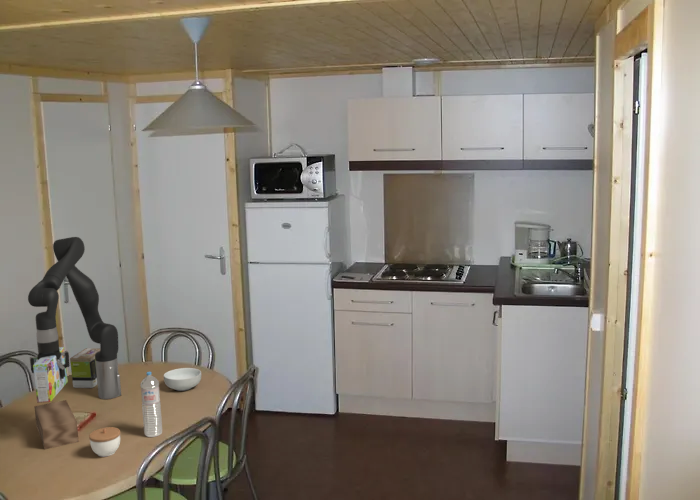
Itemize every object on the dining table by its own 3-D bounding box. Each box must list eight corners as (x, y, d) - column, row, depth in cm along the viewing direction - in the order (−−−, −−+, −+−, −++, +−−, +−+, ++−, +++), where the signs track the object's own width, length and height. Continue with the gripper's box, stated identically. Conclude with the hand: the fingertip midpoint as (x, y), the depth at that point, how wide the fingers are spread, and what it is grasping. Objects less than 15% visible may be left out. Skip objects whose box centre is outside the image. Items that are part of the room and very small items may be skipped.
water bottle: (166, 431, 271) (161, 370, 267) (155, 438, 265) (151, 376, 261) (151, 429, 273) (146, 368, 269) (140, 436, 267) (135, 374, 263)
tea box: (88, 376, 336) (85, 347, 334) (108, 377, 335) (105, 347, 332) (72, 388, 321) (69, 357, 319) (92, 388, 320) (89, 357, 317)
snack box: (53, 383, 279) (50, 347, 277) (68, 382, 280) (65, 346, 277) (35, 403, 258) (32, 364, 256) (51, 402, 259) (48, 363, 257)
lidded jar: (91, 462, 247) (89, 437, 245) (89, 450, 256) (87, 426, 255) (123, 456, 251) (121, 431, 249) (120, 444, 260) (118, 420, 259)
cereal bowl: (209, 385, 320) (208, 370, 319) (183, 397, 307) (182, 381, 305) (183, 379, 329) (182, 365, 328) (156, 390, 316) (155, 375, 314)
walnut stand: (67, 418, 286) (66, 400, 285) (78, 441, 264) (76, 421, 262) (36, 425, 280) (34, 406, 279) (44, 449, 258) (42, 428, 256)
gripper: (66, 333, 272) (69, 374, 275) (26, 340, 265) (30, 381, 268) (69, 338, 266) (72, 379, 269) (28, 344, 259) (32, 386, 262)
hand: (51, 380), depth 268 cm, fingers closed on snack box, 7 cm apart
